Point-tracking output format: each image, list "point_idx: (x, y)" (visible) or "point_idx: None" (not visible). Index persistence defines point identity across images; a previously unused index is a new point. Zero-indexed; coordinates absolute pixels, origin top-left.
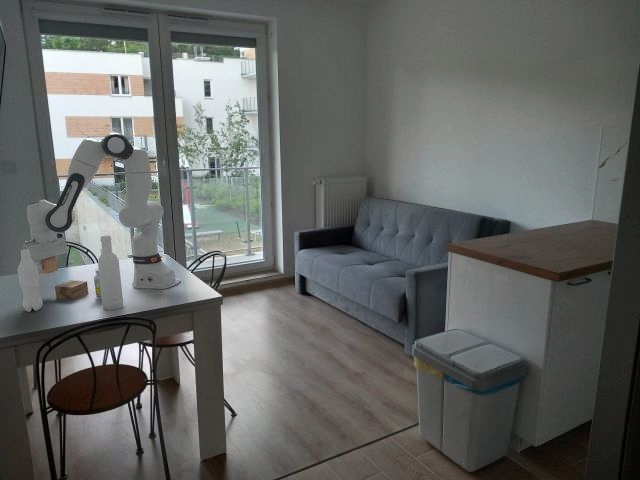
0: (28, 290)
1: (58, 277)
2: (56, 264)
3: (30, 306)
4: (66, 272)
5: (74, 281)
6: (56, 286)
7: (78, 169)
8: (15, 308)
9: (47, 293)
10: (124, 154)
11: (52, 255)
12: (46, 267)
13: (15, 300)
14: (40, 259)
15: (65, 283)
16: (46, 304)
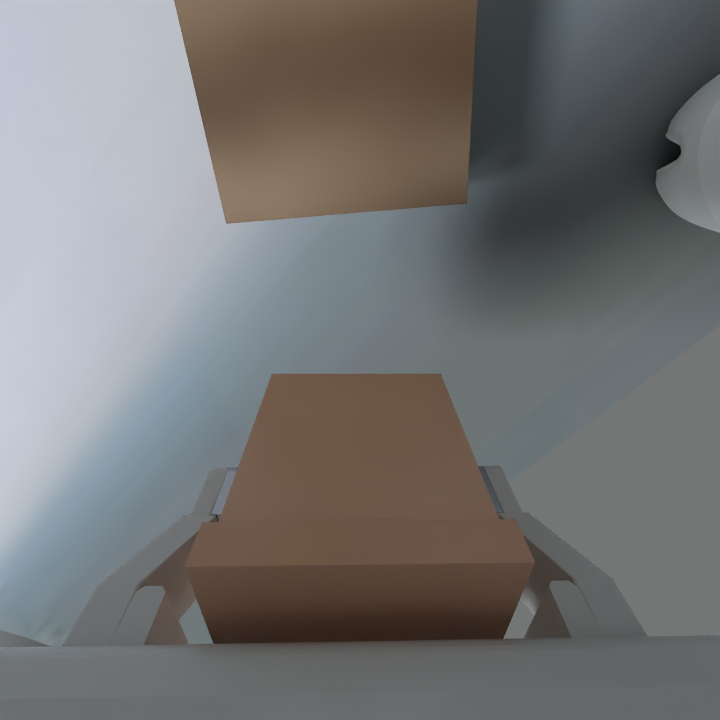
0: None
1: (90, 543)
2: (258, 440)
3: None
4: (6, 571)
5: (238, 109)
6: (467, 176)
7: None
8: (662, 313)
9: (344, 371)
10: None
11: (242, 680)
12: (464, 446)
13: (506, 436)
14: (643, 651)
15: (345, 161)
16: (578, 152)
